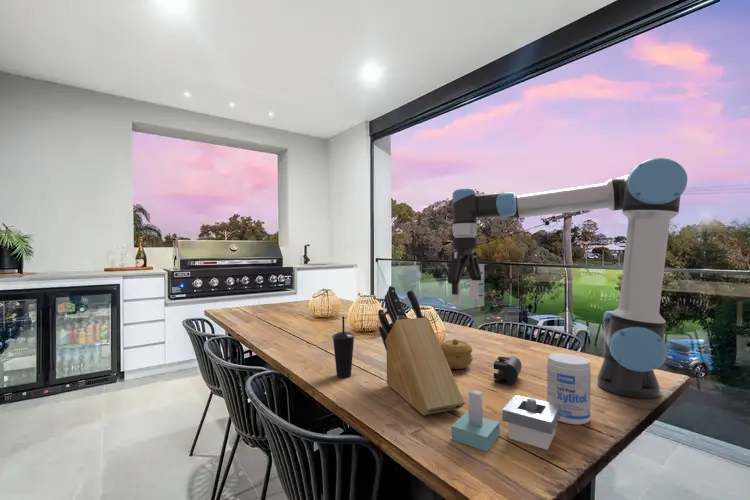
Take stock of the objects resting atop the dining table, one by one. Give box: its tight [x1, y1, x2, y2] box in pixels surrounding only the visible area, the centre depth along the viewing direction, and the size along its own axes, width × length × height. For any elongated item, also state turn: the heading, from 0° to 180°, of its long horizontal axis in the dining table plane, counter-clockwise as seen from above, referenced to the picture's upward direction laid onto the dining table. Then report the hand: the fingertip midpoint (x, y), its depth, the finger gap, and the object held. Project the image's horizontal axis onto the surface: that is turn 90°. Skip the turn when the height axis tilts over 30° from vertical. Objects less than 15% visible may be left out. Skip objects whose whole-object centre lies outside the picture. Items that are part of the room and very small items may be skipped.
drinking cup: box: [331, 316, 356, 379], centre depth 120 cm, size 8×8×20 cm
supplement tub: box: [546, 352, 592, 426], centre depth 89 cm, size 10×10×15 cm
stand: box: [507, 398, 556, 451], centre depth 80 cm, size 8×8×8 cm
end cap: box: [493, 355, 522, 386], centre depth 114 cm, size 10×7×7 cm
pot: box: [440, 338, 474, 370], centre depth 127 cm, size 12×12×10 cm
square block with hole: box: [501, 394, 561, 434], centre depth 80 cm, size 10×10×2 cm
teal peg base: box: [451, 390, 501, 452], centre depth 79 cm, size 8×8×10 cm
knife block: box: [377, 285, 466, 416], centre depth 105 cm, size 11×35×31 cm, turn 21°
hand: (465, 302), depth 115 cm, fingers open, 13 cm apart
